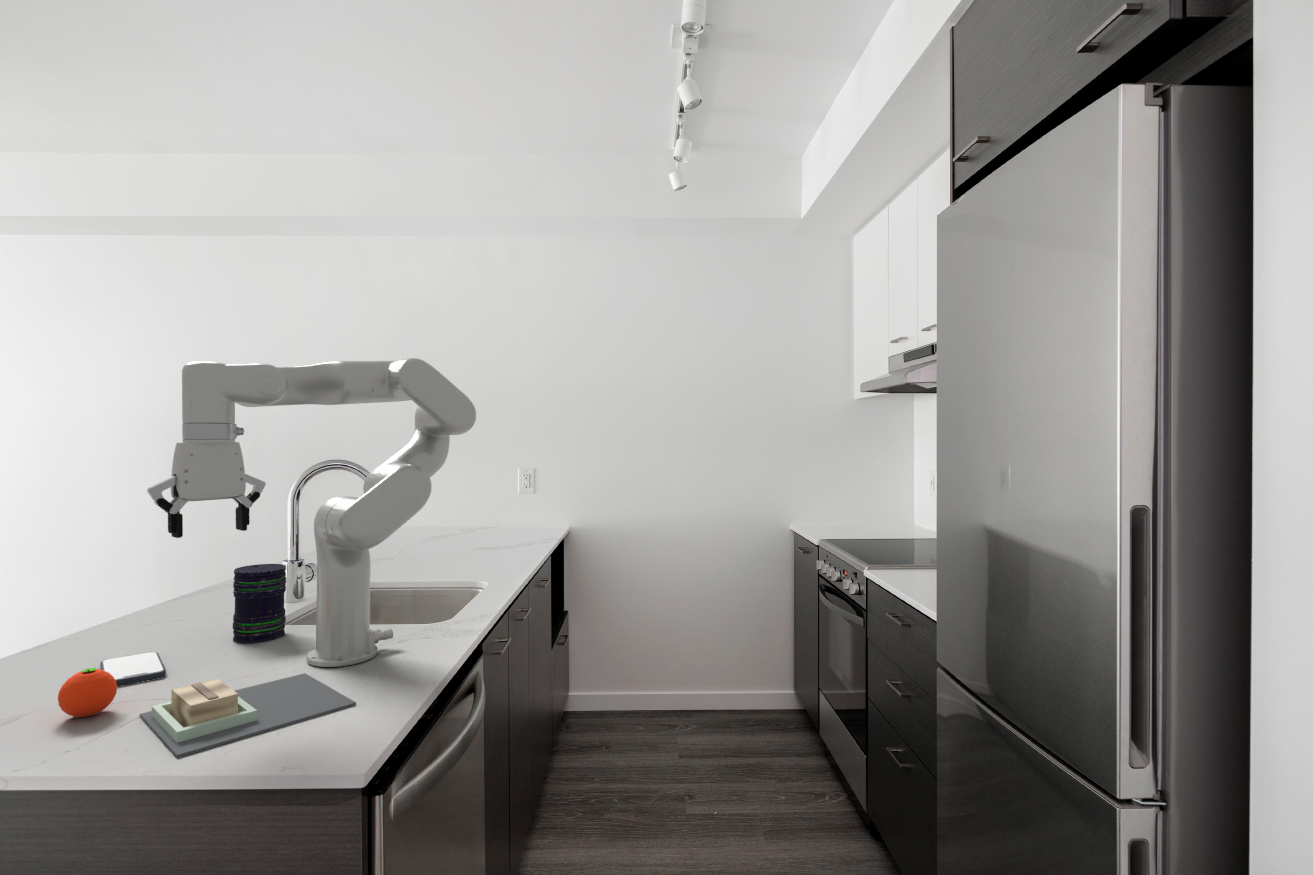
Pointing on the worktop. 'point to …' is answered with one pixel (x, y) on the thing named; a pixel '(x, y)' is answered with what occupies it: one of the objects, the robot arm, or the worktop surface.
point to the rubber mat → (263, 712)
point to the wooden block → (203, 702)
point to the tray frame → (181, 734)
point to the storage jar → (259, 603)
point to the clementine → (87, 692)
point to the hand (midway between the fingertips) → (210, 533)
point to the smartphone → (134, 668)
